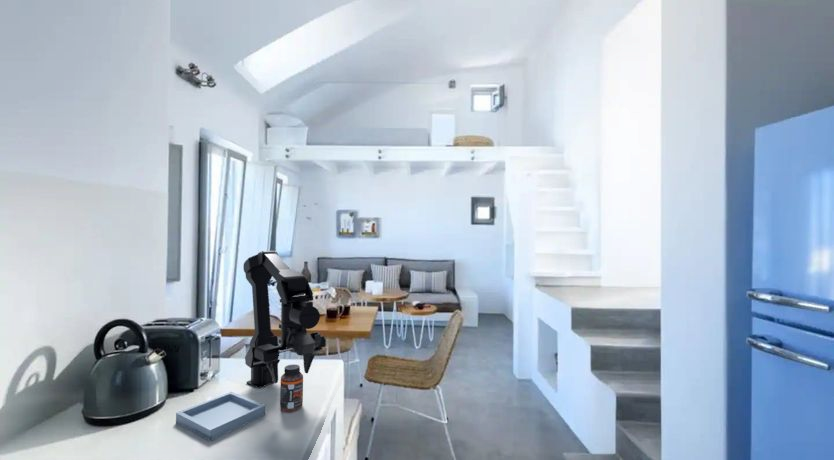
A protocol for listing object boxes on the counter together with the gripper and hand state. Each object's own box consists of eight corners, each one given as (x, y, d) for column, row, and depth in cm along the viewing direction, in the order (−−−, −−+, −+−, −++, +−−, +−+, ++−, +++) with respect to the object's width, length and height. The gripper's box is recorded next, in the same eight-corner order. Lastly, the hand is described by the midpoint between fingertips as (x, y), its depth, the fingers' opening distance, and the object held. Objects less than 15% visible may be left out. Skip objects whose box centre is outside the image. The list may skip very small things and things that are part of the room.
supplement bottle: (295, 414, 105) (296, 371, 104) (275, 411, 106) (276, 369, 106) (306, 404, 110) (307, 363, 110) (287, 401, 112) (287, 362, 111)
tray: (175, 422, 99) (176, 412, 99) (231, 400, 112) (231, 391, 112) (209, 440, 91) (210, 430, 91) (265, 414, 104) (265, 405, 104)
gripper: (275, 333, 95) (274, 397, 96) (338, 320, 109) (337, 376, 110) (253, 325, 103) (253, 384, 103) (315, 313, 117) (314, 365, 117)
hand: (291, 377), depth 108 cm, fingers open, 9 cm apart
